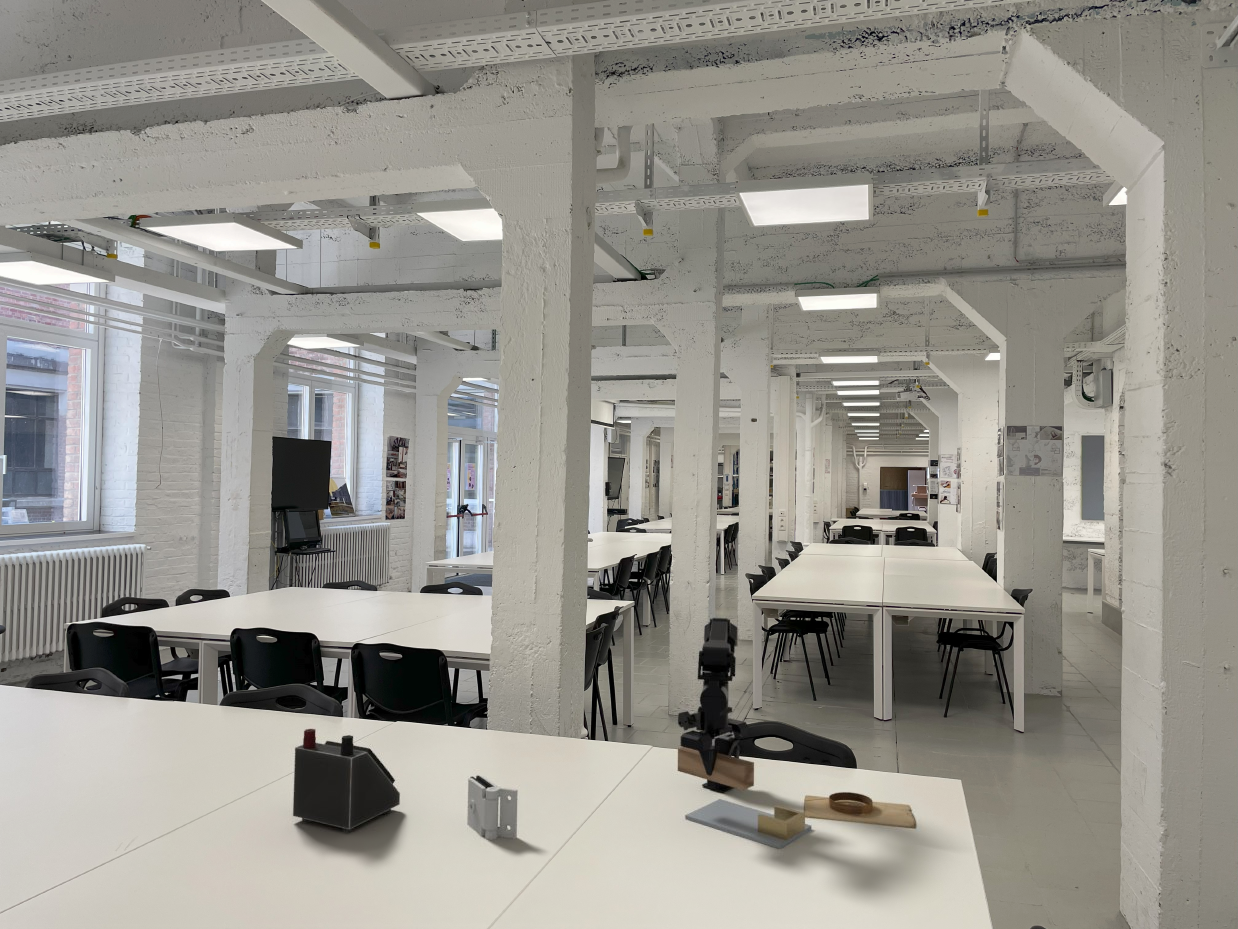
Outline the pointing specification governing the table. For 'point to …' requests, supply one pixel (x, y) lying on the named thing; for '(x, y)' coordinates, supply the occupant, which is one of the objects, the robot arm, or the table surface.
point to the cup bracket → (782, 823)
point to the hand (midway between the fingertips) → (714, 773)
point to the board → (858, 810)
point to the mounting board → (738, 822)
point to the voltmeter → (340, 783)
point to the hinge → (491, 808)
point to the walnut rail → (718, 768)
